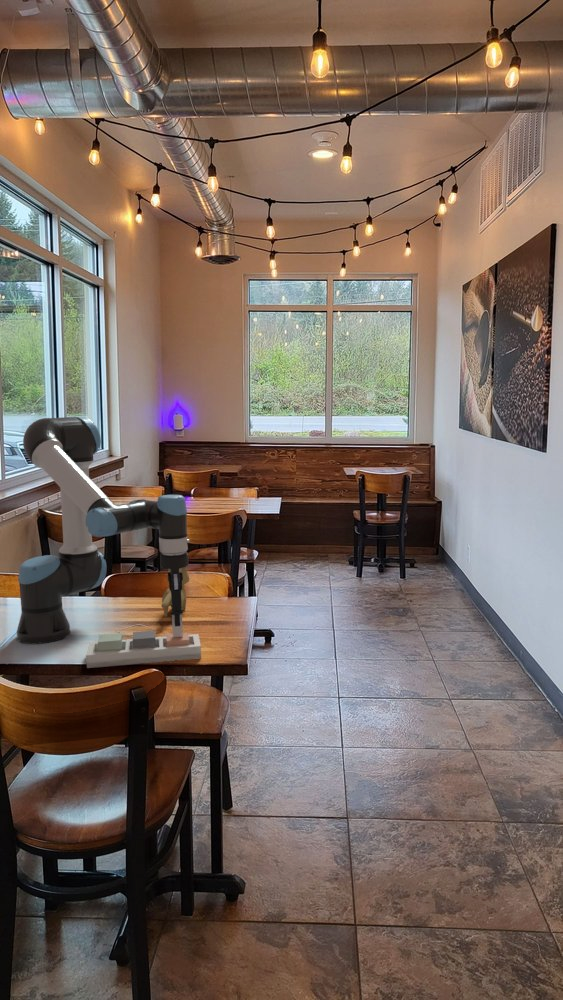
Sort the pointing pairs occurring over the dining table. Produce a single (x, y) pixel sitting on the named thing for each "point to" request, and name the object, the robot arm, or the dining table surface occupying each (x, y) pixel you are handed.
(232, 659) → the dining table surface
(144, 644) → the key charcoal
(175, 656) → the keypad
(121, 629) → the flat thin panel
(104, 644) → the key sage
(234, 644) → the dining table surface
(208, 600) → the dining table surface
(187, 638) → the key terracotta
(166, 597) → the toy
